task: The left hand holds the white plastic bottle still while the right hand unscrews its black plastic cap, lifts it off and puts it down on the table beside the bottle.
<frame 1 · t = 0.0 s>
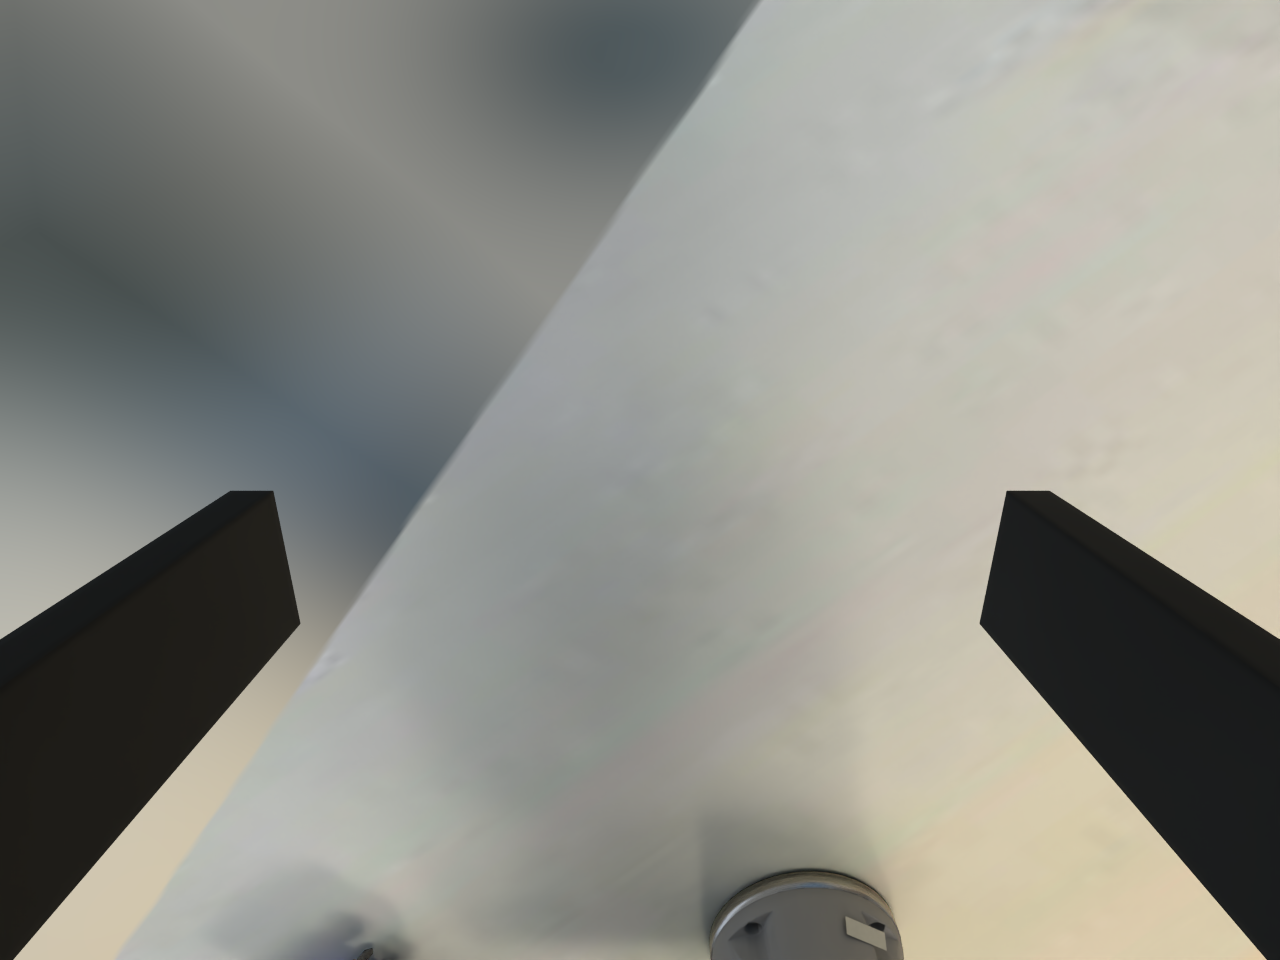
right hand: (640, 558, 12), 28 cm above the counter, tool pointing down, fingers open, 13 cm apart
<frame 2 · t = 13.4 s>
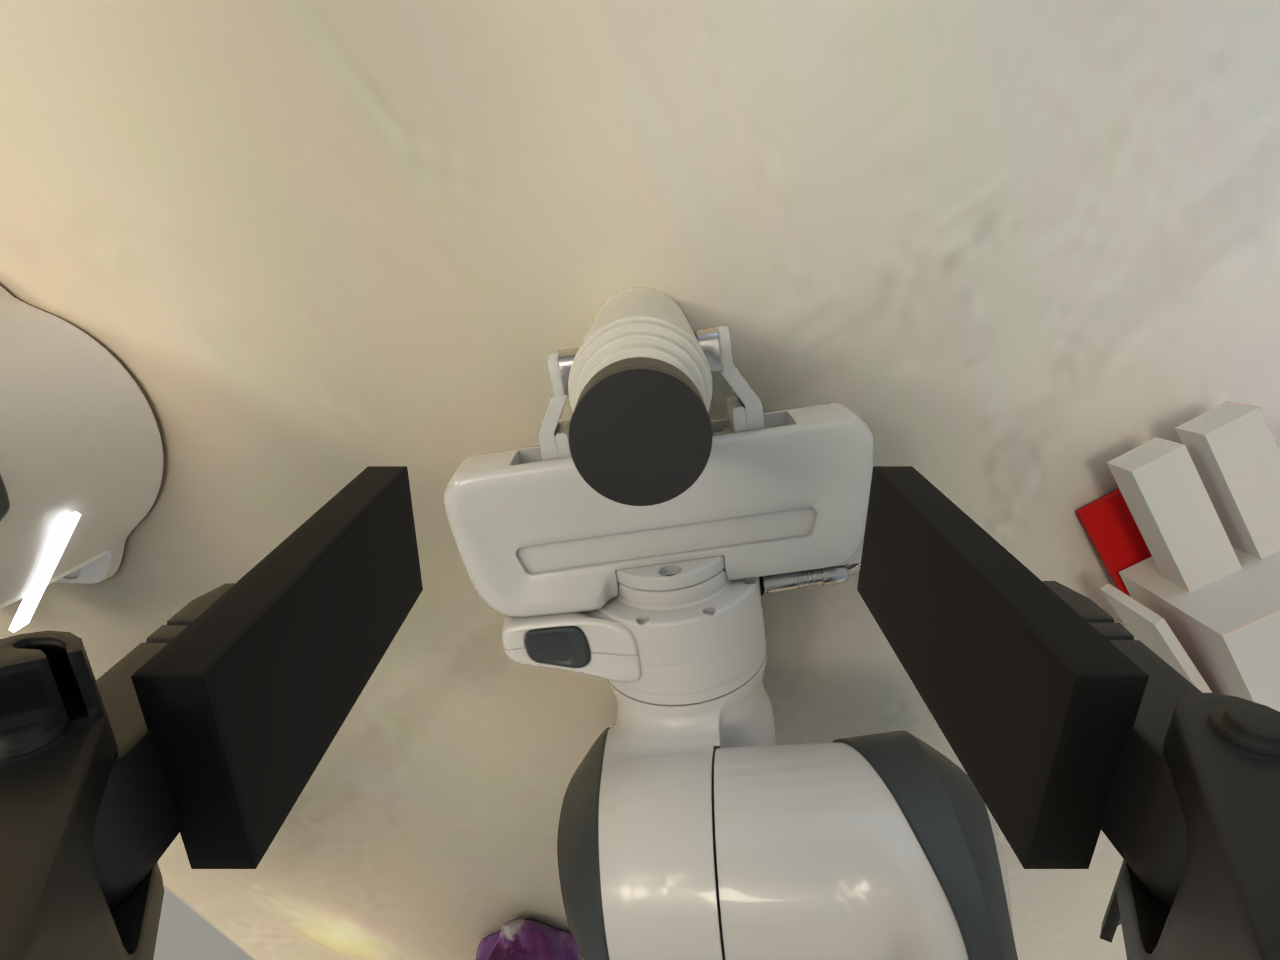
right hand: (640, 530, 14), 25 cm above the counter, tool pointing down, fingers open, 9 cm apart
left hand: (636, 340, 31), fingers closed on bottle, 5 cm apart
cap: (640, 437, 20), point 18 cm above the counter, screwed on, not yet turned
toy: (1198, 612, 43), on the counter
bottle: (640, 338, 37), on the counter, touching left hand
figurine: (539, 955, 54), on the counter
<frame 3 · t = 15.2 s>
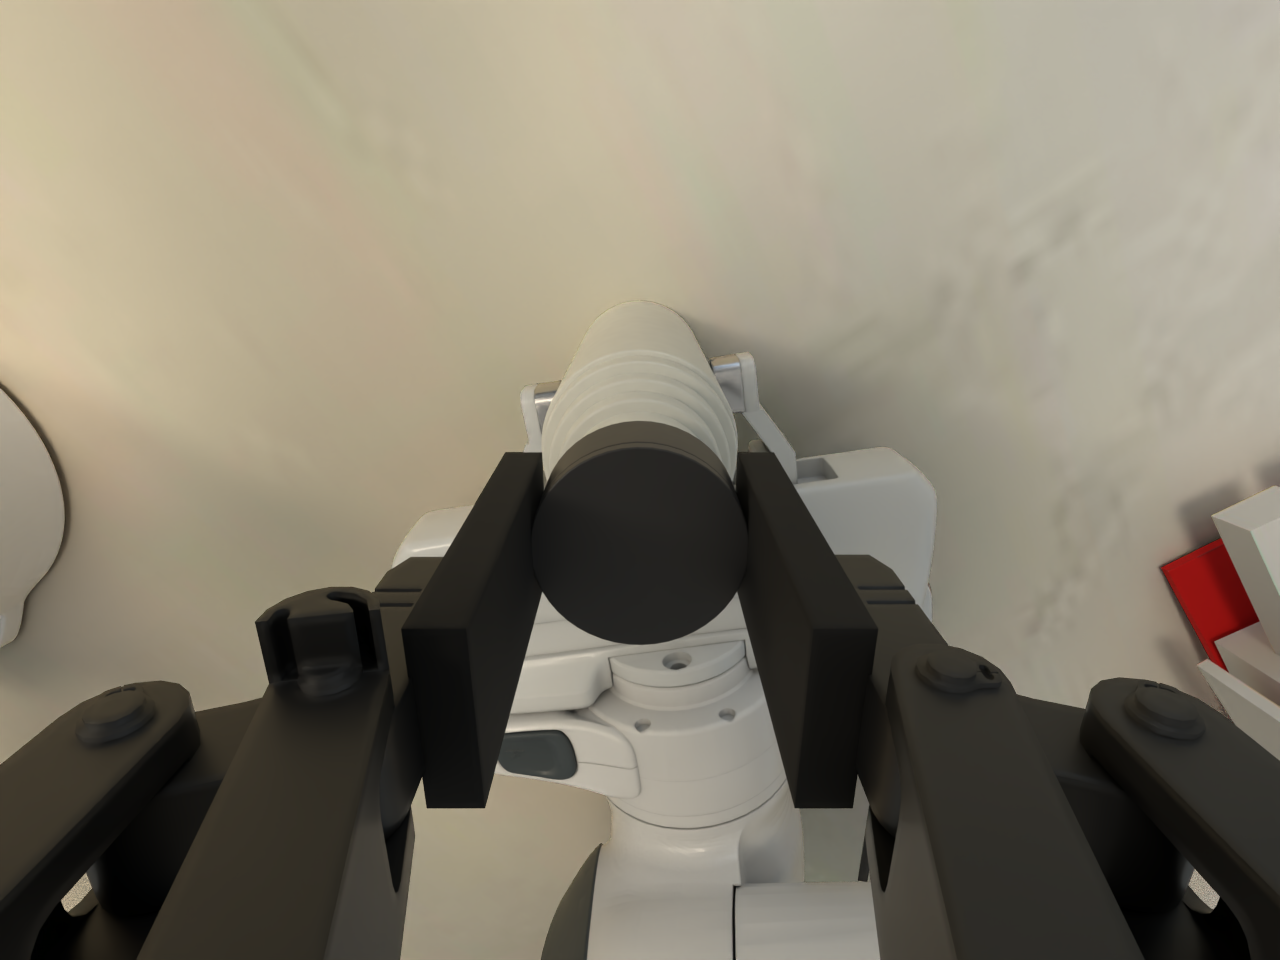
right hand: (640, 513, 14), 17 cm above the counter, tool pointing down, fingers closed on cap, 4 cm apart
cap: (639, 545, 13), point 18 cm above the counter, screwed on, not yet turned, touching right hand
bottle: (639, 362, 30), on the counter, touching left hand
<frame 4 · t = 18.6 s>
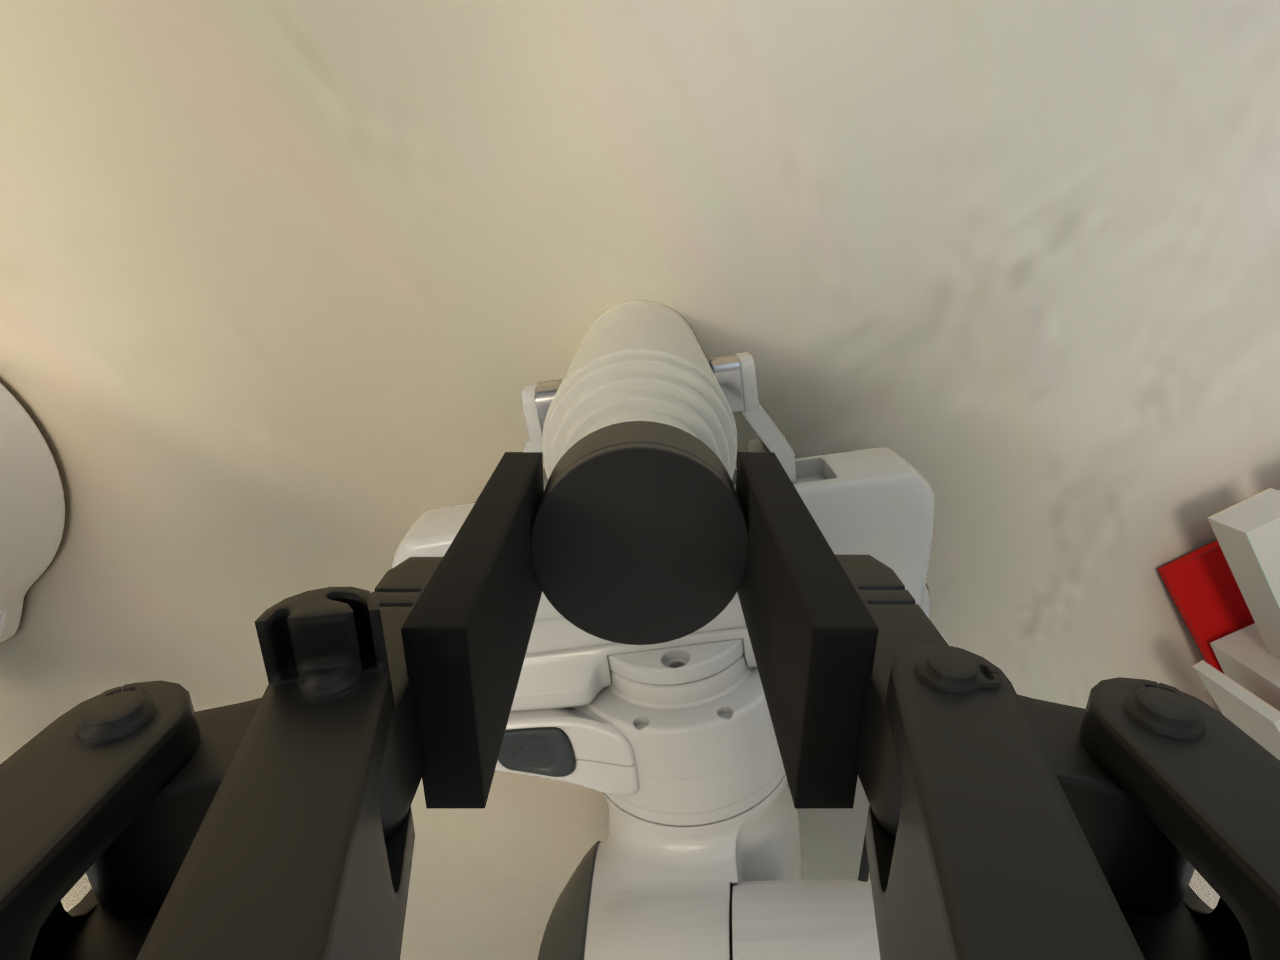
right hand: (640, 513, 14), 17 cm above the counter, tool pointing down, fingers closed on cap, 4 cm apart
cap: (639, 545, 13), point 19 cm above the counter, turned 112° so far, risen 0.1 cm, still on its thread, touching right hand
bottle: (639, 362, 30), on the counter, touching left hand
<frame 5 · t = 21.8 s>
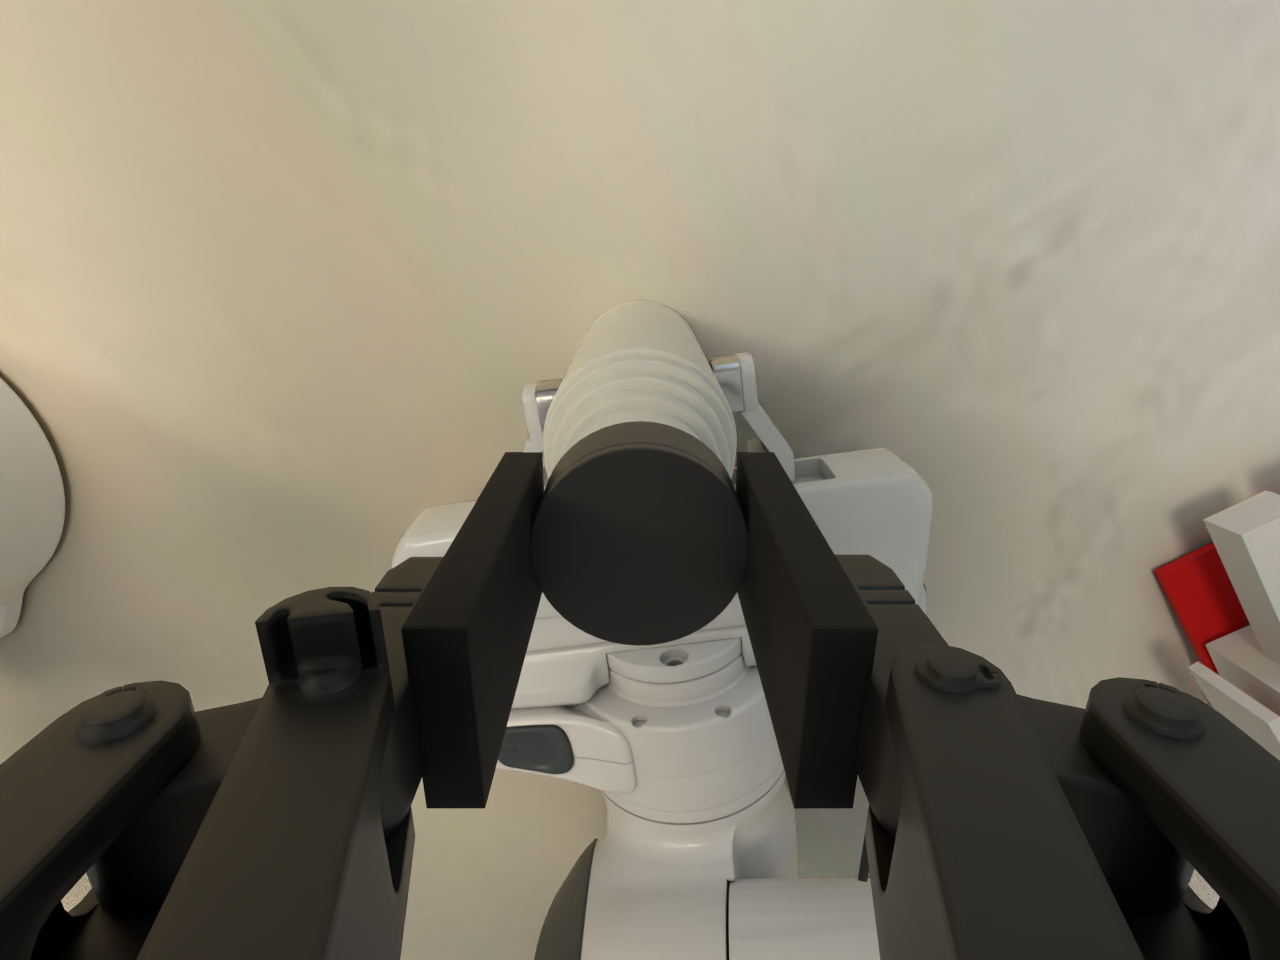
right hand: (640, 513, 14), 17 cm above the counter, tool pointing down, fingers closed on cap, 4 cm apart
cap: (639, 545, 13), point 19 cm above the counter, turned 223° so far, risen 0.2 cm, still on its thread, touching right hand
bottle: (639, 361, 30), on the counter, touching left hand
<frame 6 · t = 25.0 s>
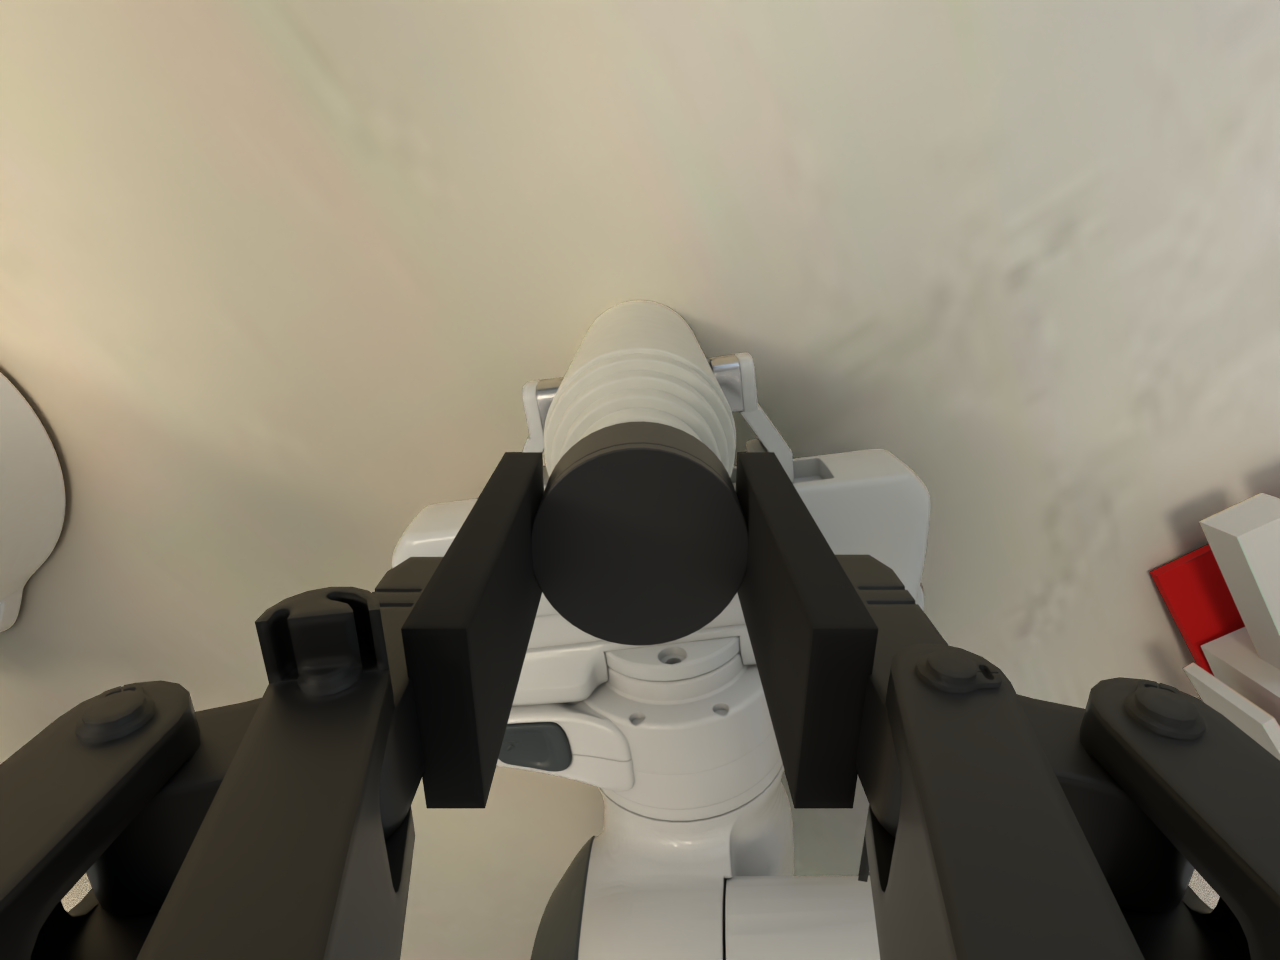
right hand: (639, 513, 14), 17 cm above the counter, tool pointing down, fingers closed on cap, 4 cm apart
cap: (639, 545, 13), point 19 cm above the counter, turned 335° so far, risen 0.4 cm, still on its thread, touching right hand
bottle: (639, 361, 30), on the counter, touching left hand
when the right hand's fingers open (1 cm above the counter, at t = 30.8 s): cap drops 1 cm, point 1 cm above the counter.
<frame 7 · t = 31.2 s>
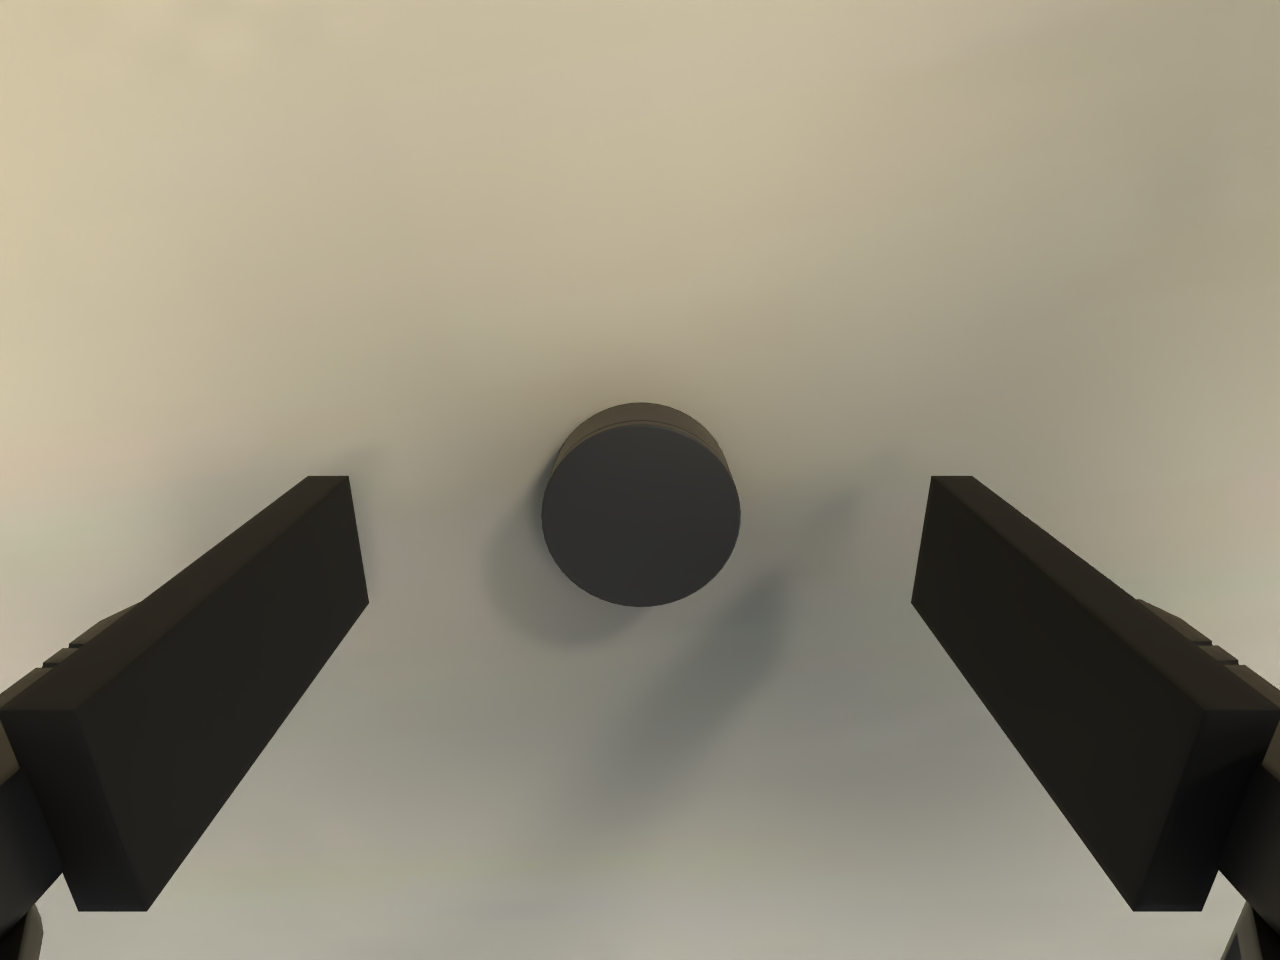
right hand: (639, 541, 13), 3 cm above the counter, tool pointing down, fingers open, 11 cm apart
cap: (641, 514, 14), point 1 cm above the counter, off its thread
when the left hand's fingers open (6 cm above the counter, at t = 32.1 s): bottle stays where it is, on the counter.
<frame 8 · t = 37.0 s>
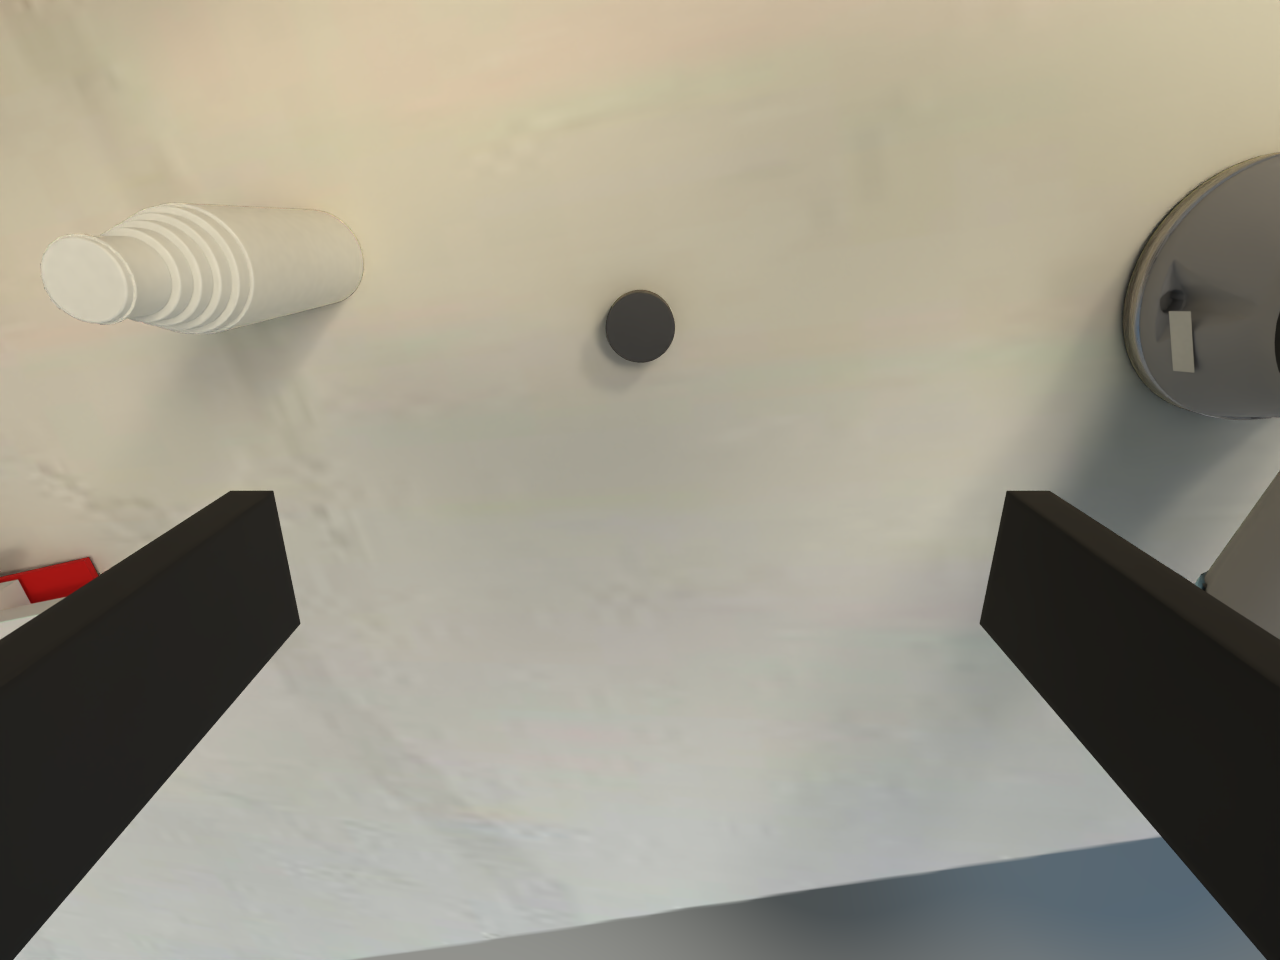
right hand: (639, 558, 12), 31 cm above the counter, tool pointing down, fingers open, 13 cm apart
cap: (640, 327, 40), point 1 cm above the counter, off its thread
bottle: (318, 258, 41), on the counter
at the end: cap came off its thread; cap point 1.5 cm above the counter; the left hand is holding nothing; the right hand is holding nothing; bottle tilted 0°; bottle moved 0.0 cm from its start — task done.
